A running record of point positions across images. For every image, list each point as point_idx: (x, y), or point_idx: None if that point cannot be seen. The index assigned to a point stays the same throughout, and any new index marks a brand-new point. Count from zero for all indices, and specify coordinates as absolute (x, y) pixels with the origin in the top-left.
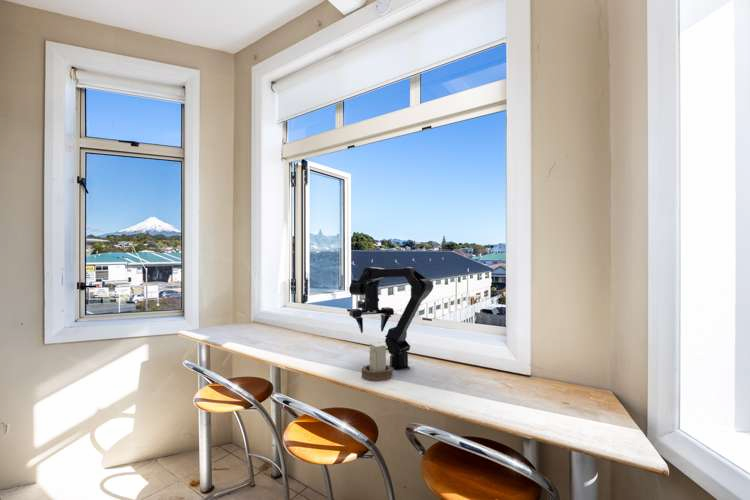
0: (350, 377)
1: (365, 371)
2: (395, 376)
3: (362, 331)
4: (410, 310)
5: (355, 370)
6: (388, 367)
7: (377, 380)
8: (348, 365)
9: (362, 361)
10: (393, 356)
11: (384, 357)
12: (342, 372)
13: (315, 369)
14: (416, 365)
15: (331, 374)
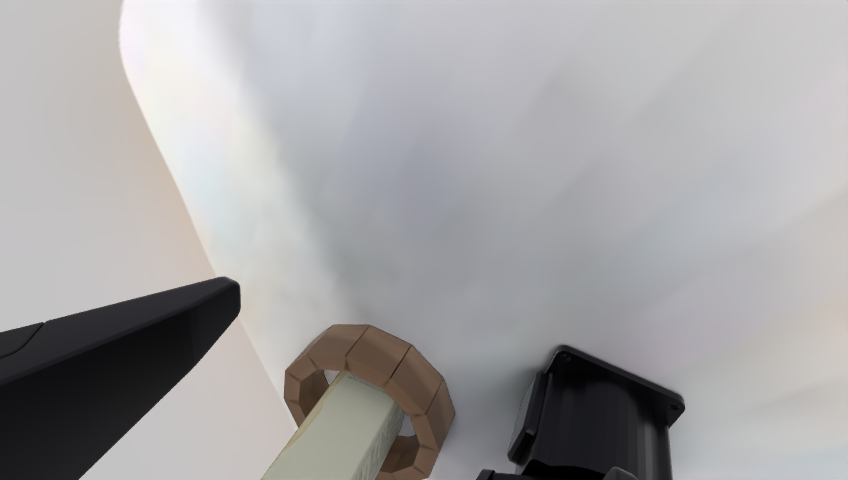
0: (264, 309)
1: (288, 404)
2: (451, 454)
3: (215, 336)
4: None
5: (323, 244)
6: (414, 461)
7: None
8: (323, 115)
9: (475, 85)
10: (516, 469)
11: None
12: (249, 220)
13: (122, 52)
14: (748, 472)
15: (194, 207)
